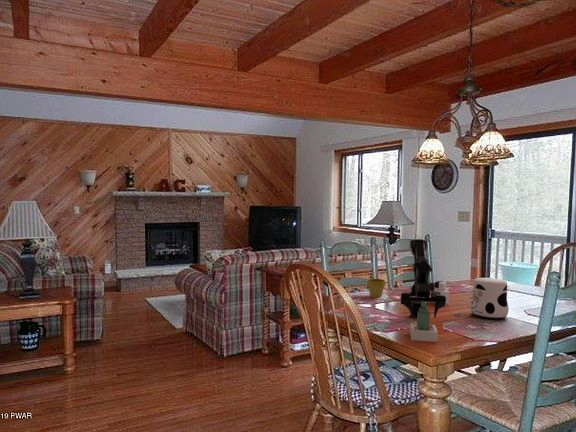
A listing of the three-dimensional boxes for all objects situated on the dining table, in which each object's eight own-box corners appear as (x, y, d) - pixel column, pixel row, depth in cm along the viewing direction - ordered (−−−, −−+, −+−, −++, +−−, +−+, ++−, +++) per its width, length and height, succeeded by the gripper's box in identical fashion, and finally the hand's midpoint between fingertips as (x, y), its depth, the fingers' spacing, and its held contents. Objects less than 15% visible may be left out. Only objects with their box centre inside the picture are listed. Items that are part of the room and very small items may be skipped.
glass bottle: (422, 332, 194) (423, 299, 193) (432, 336, 189) (433, 302, 189) (414, 334, 191) (415, 301, 190) (424, 338, 186) (425, 303, 186)
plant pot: (388, 297, 260) (389, 281, 260) (374, 299, 256) (374, 282, 255) (377, 293, 269) (378, 277, 269) (363, 295, 265) (363, 279, 264)
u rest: (409, 332, 196) (410, 323, 196) (434, 334, 194) (434, 325, 194) (411, 339, 186) (411, 330, 186) (437, 342, 184) (437, 332, 184)
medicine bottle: (430, 302, 251) (431, 281, 250) (439, 300, 254) (440, 280, 254) (439, 305, 245) (440, 283, 244) (449, 303, 248) (450, 282, 247)
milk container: (462, 313, 228) (463, 278, 227) (487, 310, 235) (488, 276, 234) (490, 323, 212) (491, 285, 211) (516, 319, 219) (517, 283, 218)
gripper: (401, 274, 196) (402, 305, 186) (446, 276, 193) (449, 308, 182) (400, 288, 205) (400, 318, 194) (443, 290, 201) (445, 322, 191)
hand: (423, 316), depth 190 cm, fingers open, 9 cm apart
